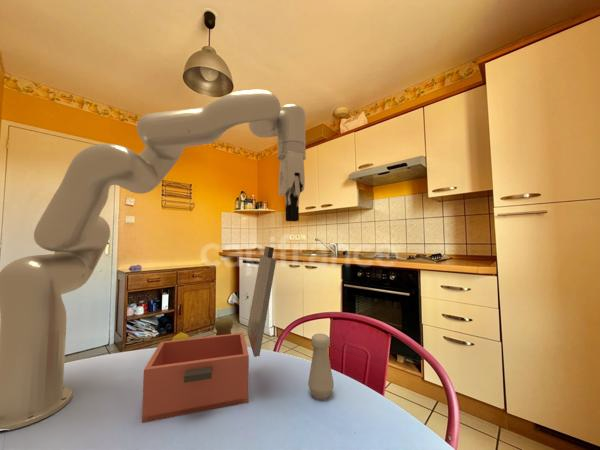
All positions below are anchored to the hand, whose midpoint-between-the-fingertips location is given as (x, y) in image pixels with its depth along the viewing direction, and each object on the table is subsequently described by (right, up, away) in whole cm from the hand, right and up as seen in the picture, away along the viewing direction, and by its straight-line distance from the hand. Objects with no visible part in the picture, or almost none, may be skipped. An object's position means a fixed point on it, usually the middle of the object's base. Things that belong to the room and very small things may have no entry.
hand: (292, 220), depth 66 cm
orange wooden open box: (-21, -39, -9) cm, 45 cm away
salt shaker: (+7, -40, -10) cm, 41 cm away
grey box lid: (-8, -18, -4) cm, 21 cm away
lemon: (-33, -41, +6) cm, 53 cm away
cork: (-21, -41, +9) cm, 47 cm away
